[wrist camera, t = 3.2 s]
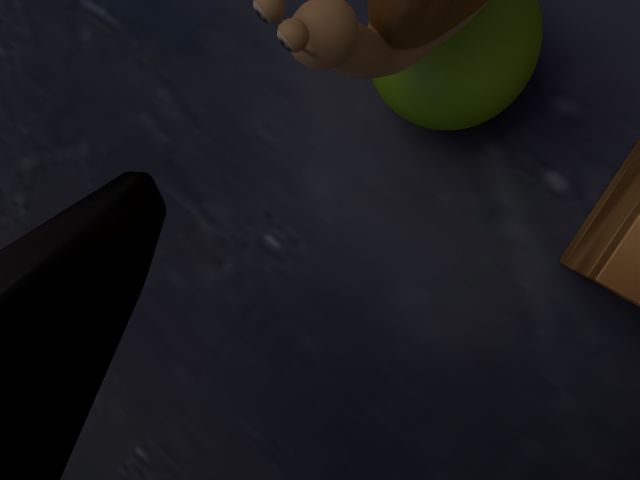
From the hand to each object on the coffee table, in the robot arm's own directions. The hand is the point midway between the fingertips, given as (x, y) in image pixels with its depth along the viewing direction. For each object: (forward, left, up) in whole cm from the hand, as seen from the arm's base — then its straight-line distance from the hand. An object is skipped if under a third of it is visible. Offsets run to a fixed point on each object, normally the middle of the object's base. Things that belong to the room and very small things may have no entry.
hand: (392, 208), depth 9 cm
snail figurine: (+4, +3, -12) cm, 13 cm away
